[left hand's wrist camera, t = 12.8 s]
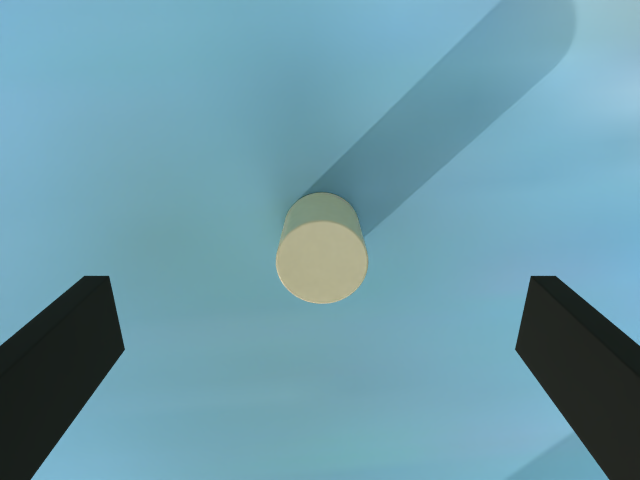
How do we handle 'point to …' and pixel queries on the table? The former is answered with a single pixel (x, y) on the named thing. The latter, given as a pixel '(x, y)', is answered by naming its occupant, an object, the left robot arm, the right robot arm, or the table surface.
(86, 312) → the left robot arm
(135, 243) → the table surface
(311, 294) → the cylinder
